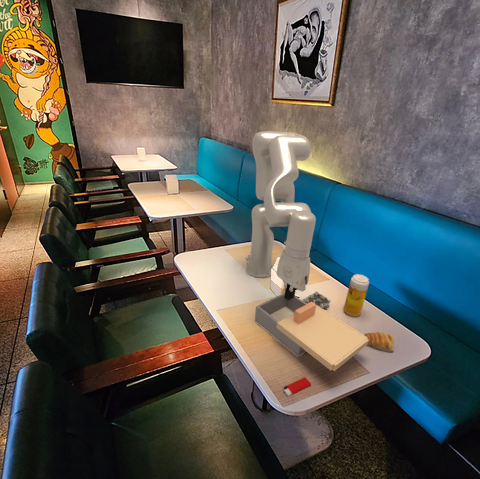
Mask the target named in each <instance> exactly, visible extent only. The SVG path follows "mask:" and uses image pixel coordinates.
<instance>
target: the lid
mask: <svg viewBox="0 0 480 479" xmlns="http://www.w3.org/2000/svg"><path fill="white" fill-rule="evenodd" d="M276 328H278V329H279V330H280V331H281V332H283V333H284V334H285V335H286V336H288V337H289V338H290V339H291V340H293V341H294V342H295V343H297V344H298V345H299V346H300V347H302V348H303V349H304V350H305V351H307V352H306V353H308V354H309V355H311V356H312V357H313V358H314V359H315V360H317V361H318V362H319V363H321V364H322V365H323V366H324V367H326V368H327V369H328V370H330V371H334V372H335V371H337V369H340V367H342V366H343V365H344V364H346V363H347V362H348V361H349V360H350V359H351V358H353V357H355V355H357V354H358V353H359V352H360V351H361V350H363V349H364V348H366V347H367V346H368V345H367V344H368V341H369V340H368V337H366V336H365V335H364V334H363V333H362V332H360V331H358V330H357V329H355V328H354V327H352V326H350V325H349V324H347V323H345V322H344V321H342V320H341V319H339V318H338V317H336V316H334V315H333V314H331V313H330V312H328V311H327V310H325V308H324V309H322V308H320V307H319V306H317V305H316V304H315V302H314V301H313V302H310V303H308V304H306V305H304V306H302V307H301V308H299V309H297V310H295V313H294V314H292V315H290V316H288V317H287V318H285V319H283V320H281V321H279V322H277V327H276Z"/></svg>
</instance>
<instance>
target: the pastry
mask: <svg viewBox="0 0 480 479" xmlns="http://www.w3.org/2000/svg"><path fill="white" fill-rule="evenodd" d="M363 335H365V336H366V337H368V340H369V341H368V344H367V346H369V347H372V348H374V349H376V350H380V351H383V352H389V353H390V352H393V351H394V350H395V341H394V337H393V336H392V335H391V334H390V333H389V334H387V333H384V332H379V331H377V332H376V331H375V332H367V333H364V334H363Z"/></svg>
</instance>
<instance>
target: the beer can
mask: <svg viewBox="0 0 480 479" xmlns="http://www.w3.org/2000/svg"><path fill="white" fill-rule="evenodd" d="M369 280H370V279H369V278H368V277H367V276H365V275H363V274H358V273H356V274H353V276H352V277H351V279H350V283H349V286H348V290H347V294H346V297H345V301H344V304H343V305H344V306H343V310H344V312H345V314H346V315H348V316H350V317H358V316H360V315H361V314H362V309H363V307H364V306H363V305H364V303H365V299H366V296H367V292H368V288H369V285H370V281H369Z"/></svg>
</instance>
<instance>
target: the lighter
mask: <svg viewBox="0 0 480 479" xmlns="http://www.w3.org/2000/svg"><path fill="white" fill-rule="evenodd" d="M310 387H312V383H311V381H310V380H309V379H308V378H307V377H302V378H300V379H299V380H296V381H293V382H291V383H289V384H287V385H285V386H283V393H284V394H285V395H286V396H287V398H288V397H291V396H293V395H295V394H297V393H299V392H301V391H303V390H305V389H307V388H310Z"/></svg>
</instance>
